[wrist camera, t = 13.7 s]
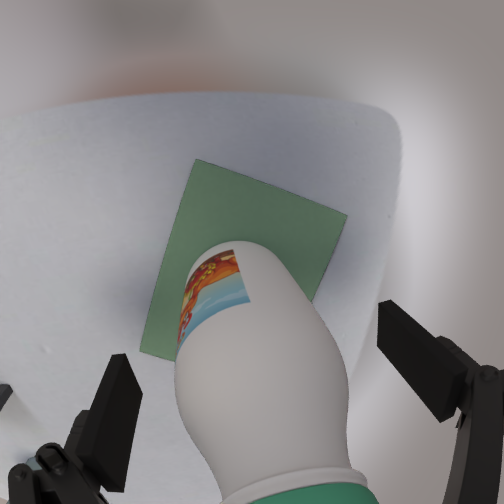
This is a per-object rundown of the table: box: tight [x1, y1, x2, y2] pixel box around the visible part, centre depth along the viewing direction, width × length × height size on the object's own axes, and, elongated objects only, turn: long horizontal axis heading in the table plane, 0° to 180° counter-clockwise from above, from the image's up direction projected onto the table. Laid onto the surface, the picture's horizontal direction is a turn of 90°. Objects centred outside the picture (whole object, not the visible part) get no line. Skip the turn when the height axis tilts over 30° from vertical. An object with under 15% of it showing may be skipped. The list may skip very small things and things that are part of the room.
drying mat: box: [140, 159, 347, 362], centre depth 24 cm, size 16×12×1 cm
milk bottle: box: [174, 241, 379, 504], centre depth 15 cm, size 8×8×20 cm
